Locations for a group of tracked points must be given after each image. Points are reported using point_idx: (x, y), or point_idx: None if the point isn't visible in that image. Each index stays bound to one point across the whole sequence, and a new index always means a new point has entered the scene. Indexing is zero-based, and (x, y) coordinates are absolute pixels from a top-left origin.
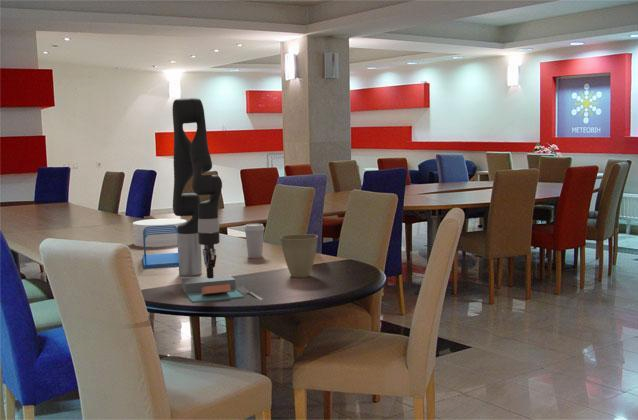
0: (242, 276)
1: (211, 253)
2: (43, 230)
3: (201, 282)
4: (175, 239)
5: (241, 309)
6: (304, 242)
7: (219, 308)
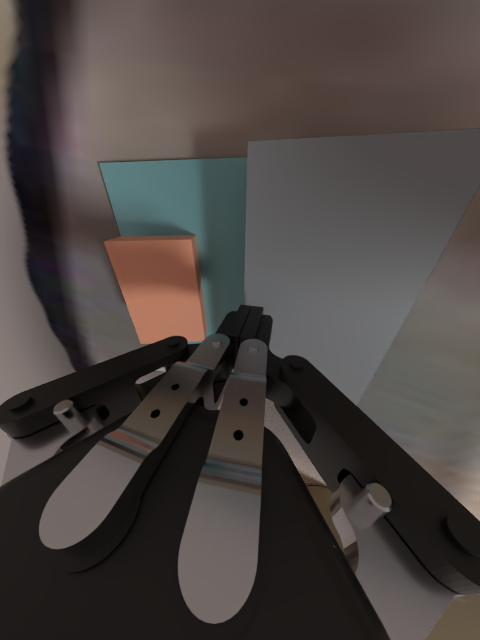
0: (446, 451)
1: (12, 462)
2: None
3: (245, 261)
4: None
5: (43, 296)
6: None
7: (40, 247)
